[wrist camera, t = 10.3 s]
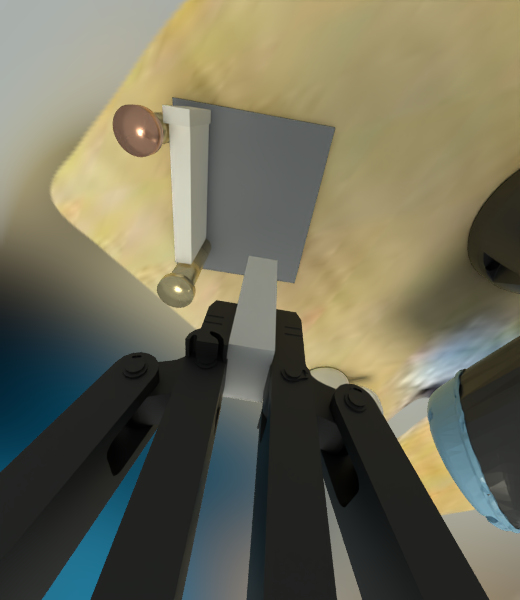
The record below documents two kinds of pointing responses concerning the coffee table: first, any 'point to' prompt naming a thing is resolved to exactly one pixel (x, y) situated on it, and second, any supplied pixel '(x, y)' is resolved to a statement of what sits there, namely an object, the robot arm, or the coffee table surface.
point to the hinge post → (183, 280)
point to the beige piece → (188, 177)
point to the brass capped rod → (140, 130)
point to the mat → (260, 187)
